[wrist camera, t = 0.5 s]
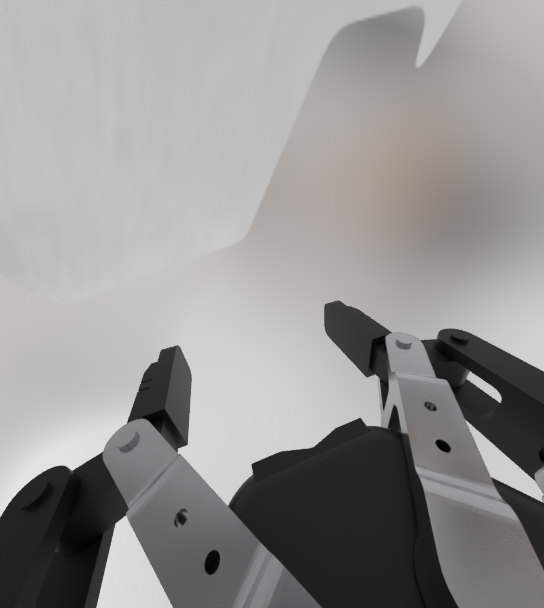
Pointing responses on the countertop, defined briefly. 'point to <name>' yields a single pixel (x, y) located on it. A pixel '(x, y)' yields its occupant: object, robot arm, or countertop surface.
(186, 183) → the countertop surface
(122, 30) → the countertop surface
